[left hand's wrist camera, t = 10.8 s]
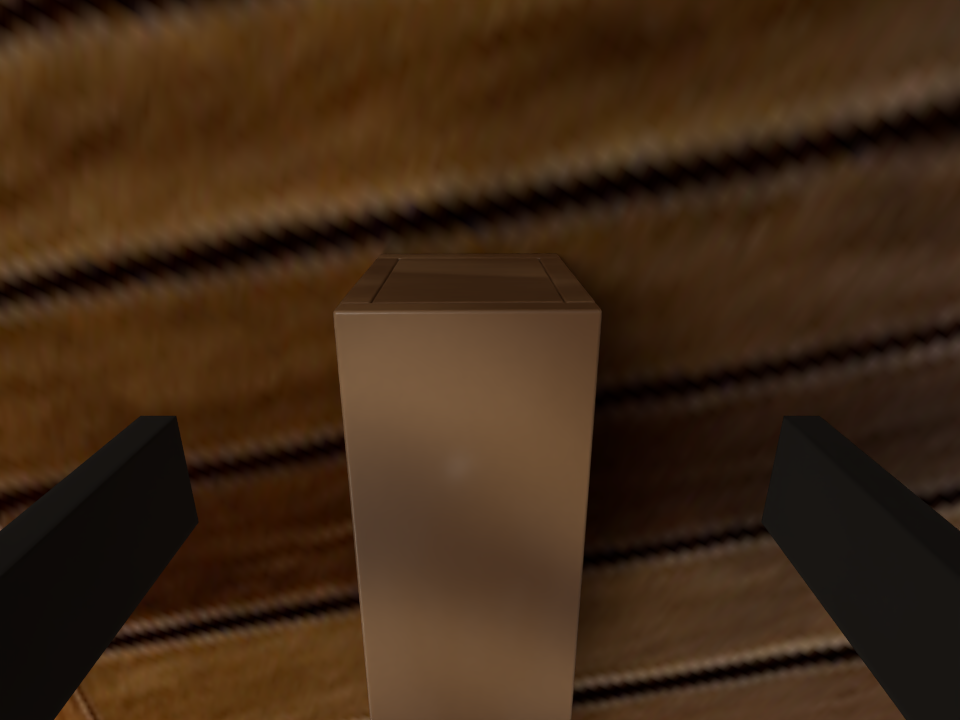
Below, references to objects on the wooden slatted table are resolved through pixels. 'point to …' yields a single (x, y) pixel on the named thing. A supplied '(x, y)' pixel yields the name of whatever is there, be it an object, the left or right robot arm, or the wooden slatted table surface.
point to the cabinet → (469, 479)
